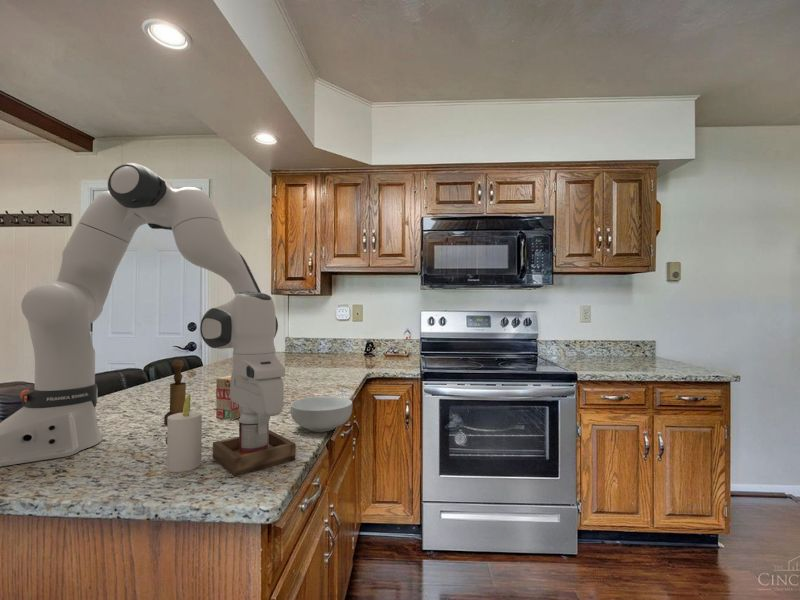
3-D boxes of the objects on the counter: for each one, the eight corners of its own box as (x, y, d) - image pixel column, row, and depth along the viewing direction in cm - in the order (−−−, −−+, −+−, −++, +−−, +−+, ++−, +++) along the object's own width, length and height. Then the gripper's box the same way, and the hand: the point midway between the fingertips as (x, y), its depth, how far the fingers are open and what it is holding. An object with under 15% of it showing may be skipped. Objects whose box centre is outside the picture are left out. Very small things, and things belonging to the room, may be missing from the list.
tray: (234, 476, 77) (234, 458, 77) (212, 458, 87) (212, 442, 87) (295, 459, 86) (295, 443, 86) (269, 444, 96) (269, 429, 96)
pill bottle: (245, 449, 90) (245, 398, 90) (272, 449, 90) (272, 398, 90) (233, 459, 84) (234, 405, 84) (263, 459, 84) (263, 405, 84)
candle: (170, 462, 85) (171, 391, 85) (203, 458, 87) (204, 390, 87) (161, 473, 79) (162, 398, 79) (197, 470, 81) (198, 396, 81)
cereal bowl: (326, 441, 98) (326, 412, 98) (276, 431, 106) (277, 405, 106) (364, 423, 113) (364, 399, 113) (318, 416, 121) (318, 393, 121)
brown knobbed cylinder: (194, 421, 115) (195, 359, 116) (171, 427, 110) (172, 361, 110) (182, 417, 119) (182, 357, 119) (159, 423, 113) (160, 360, 114)
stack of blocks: (266, 402, 138) (266, 367, 139) (280, 404, 136) (280, 368, 136) (215, 418, 119) (216, 377, 119) (231, 421, 116) (231, 378, 116)
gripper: (223, 361, 92) (222, 421, 92) (259, 372, 77) (258, 443, 77) (249, 359, 97) (249, 416, 96) (289, 369, 82) (288, 436, 81)
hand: (253, 428), depth 87 cm, fingers open, 7 cm apart
